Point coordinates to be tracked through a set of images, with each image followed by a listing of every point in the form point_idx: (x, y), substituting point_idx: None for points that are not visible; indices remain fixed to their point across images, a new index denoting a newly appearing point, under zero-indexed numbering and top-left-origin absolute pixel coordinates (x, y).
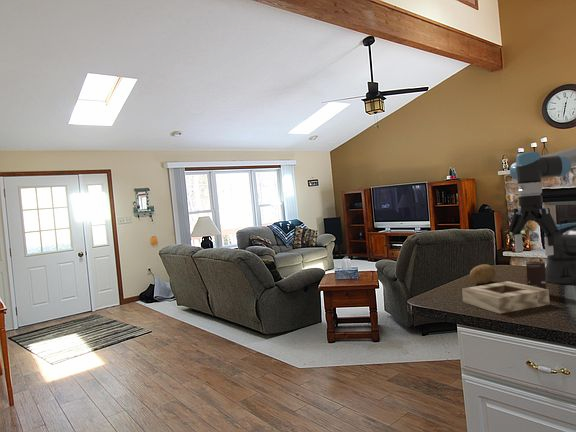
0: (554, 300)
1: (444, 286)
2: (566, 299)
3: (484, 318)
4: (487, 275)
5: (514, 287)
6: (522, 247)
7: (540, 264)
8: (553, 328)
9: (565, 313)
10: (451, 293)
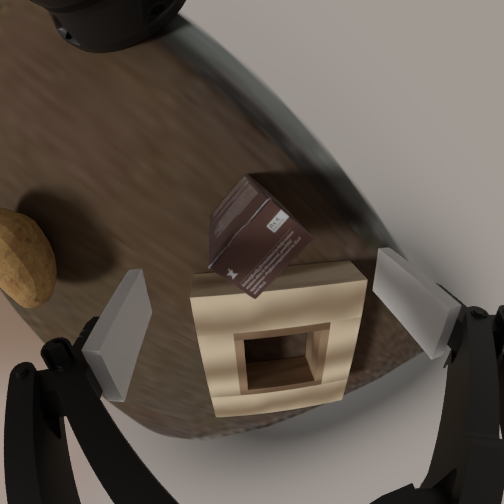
0: (326, 217)
1: (45, 340)
2: (337, 182)
3: None
4: (52, 272)
5: (285, 334)
6: (134, 283)
7: (299, 252)
8: None
9: None
10: None
